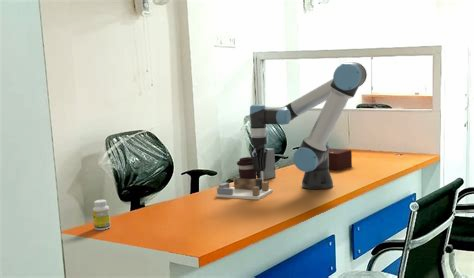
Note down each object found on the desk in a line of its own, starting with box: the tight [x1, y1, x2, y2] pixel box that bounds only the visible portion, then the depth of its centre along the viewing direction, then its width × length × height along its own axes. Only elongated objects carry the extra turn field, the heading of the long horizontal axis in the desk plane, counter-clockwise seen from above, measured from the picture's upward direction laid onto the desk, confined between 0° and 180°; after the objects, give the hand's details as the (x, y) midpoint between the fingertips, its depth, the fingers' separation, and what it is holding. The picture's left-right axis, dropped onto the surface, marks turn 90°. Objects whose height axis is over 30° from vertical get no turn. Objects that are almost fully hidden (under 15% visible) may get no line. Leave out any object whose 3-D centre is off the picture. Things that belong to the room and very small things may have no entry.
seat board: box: [215, 180, 273, 200], centre depth 264 cm, size 22×16×5 cm
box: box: [328, 148, 353, 172], centre depth 323 cm, size 21×16×10 cm
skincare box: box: [263, 147, 276, 180], centre depth 300 cm, size 8×7×16 cm
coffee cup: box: [236, 156, 257, 179], centre depth 277 cm, size 10×10×15 cm
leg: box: [233, 177, 262, 190], centre depth 269 cm, size 14×3×5 cm, turn 64°
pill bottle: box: [92, 199, 111, 231], centre depth 217 cm, size 6×6×11 cm
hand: (260, 184), depth 272 cm, fingers closed
